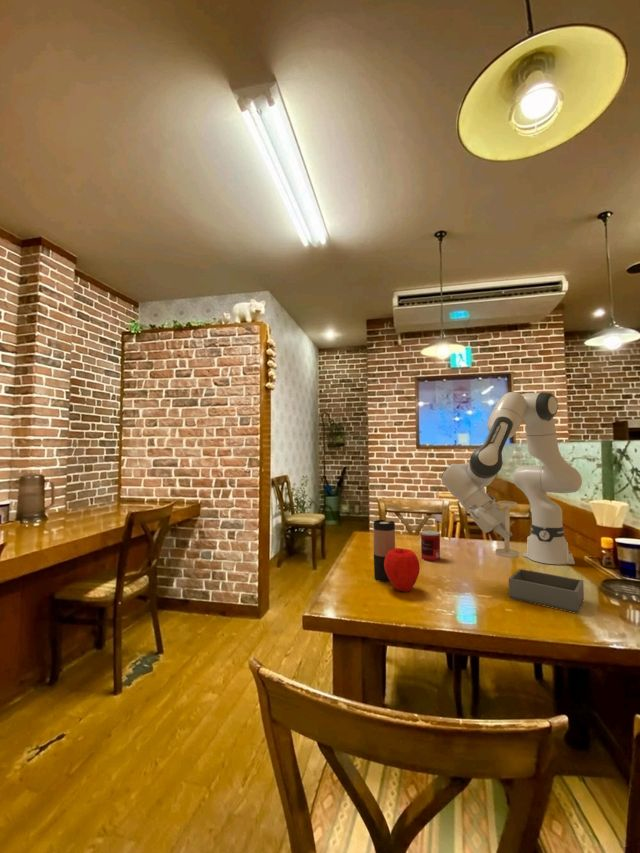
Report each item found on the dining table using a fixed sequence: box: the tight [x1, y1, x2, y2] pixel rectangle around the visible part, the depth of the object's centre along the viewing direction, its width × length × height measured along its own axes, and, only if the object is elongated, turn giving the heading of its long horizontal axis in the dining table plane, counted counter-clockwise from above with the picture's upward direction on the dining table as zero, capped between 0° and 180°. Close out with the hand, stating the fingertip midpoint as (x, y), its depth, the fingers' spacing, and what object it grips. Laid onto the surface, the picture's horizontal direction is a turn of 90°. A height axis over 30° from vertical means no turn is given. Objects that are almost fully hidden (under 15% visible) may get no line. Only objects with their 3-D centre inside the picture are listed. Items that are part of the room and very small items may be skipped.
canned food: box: [420, 530, 441, 562], centre depth 165 cm, size 8×8×11 cm
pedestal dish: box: [494, 500, 520, 559], centre depth 130 cm, size 7×7×17 cm
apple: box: [384, 547, 421, 593], centre depth 130 cm, size 12×12×13 cm
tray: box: [508, 568, 585, 614], centre depth 122 cm, size 13×18×6 cm
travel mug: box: [373, 519, 396, 583], centre depth 141 cm, size 8×8×20 cm
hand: (509, 537), depth 129 cm, fingers closed on pedestal dish
